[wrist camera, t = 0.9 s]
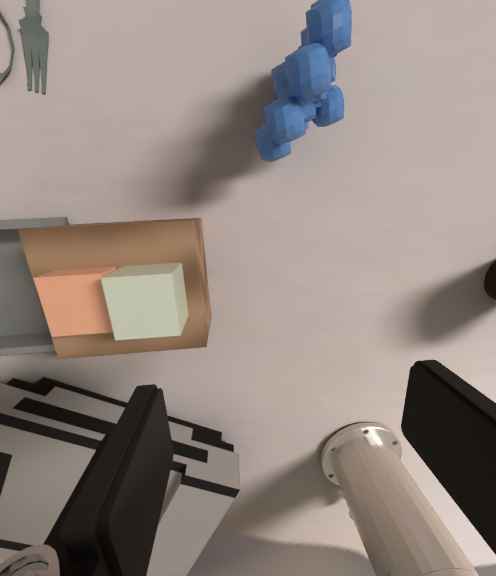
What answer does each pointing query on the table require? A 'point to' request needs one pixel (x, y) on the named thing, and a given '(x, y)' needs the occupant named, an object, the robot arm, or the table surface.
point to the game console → (76, 456)
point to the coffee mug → (491, 281)
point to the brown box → (117, 253)
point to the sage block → (146, 301)
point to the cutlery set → (32, 45)
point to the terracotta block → (74, 301)
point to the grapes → (307, 81)
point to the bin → (21, 292)
